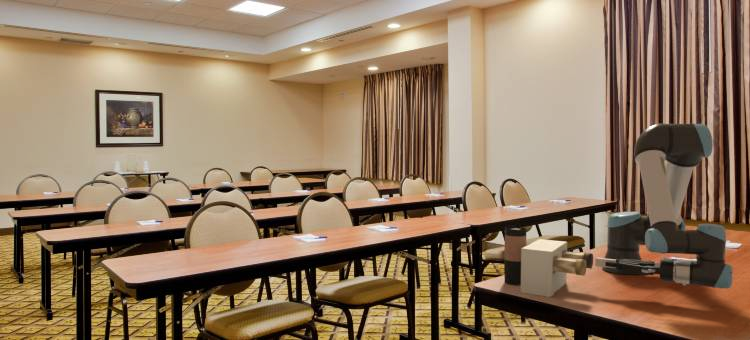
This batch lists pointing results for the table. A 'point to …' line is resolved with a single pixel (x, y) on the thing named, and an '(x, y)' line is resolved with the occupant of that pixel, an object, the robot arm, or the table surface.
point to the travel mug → (513, 254)
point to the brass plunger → (569, 265)
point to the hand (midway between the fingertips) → (595, 261)
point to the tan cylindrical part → (580, 257)
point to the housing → (541, 267)
